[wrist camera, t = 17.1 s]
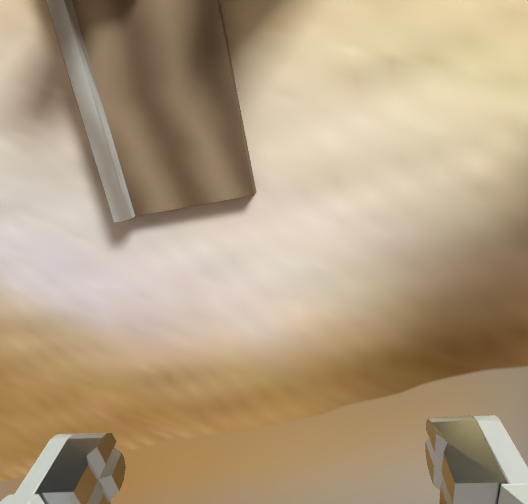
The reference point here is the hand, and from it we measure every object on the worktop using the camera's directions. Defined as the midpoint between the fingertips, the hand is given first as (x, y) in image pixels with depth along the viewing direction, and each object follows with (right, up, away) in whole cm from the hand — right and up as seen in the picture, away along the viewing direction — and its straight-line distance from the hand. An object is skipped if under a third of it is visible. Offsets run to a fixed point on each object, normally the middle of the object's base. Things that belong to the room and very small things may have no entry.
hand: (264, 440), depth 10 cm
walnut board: (-10, +24, +25) cm, 36 cm away
